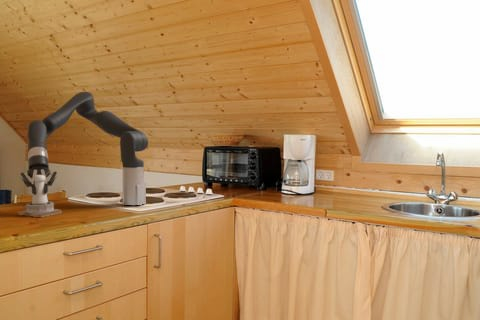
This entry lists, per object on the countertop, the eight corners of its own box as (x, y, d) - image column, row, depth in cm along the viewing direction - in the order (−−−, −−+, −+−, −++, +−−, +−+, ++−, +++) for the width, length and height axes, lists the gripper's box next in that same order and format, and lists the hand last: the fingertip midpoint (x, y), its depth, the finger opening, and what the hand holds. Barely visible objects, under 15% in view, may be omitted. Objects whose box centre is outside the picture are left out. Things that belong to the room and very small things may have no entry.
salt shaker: (28, 208, 158) (27, 175, 157) (40, 205, 163) (39, 173, 162) (39, 209, 156) (38, 176, 155) (51, 206, 161) (50, 174, 160)
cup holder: (61, 212, 162) (61, 202, 162) (40, 217, 153) (40, 206, 152) (39, 210, 166) (39, 200, 166) (18, 214, 157) (17, 204, 157)
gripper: (56, 165, 173) (59, 197, 163) (19, 166, 166) (19, 200, 156) (57, 154, 168) (59, 186, 158) (18, 154, 161) (19, 188, 151)
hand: (39, 193), depth 157 cm, fingers closed on salt shaker, 3 cm apart
